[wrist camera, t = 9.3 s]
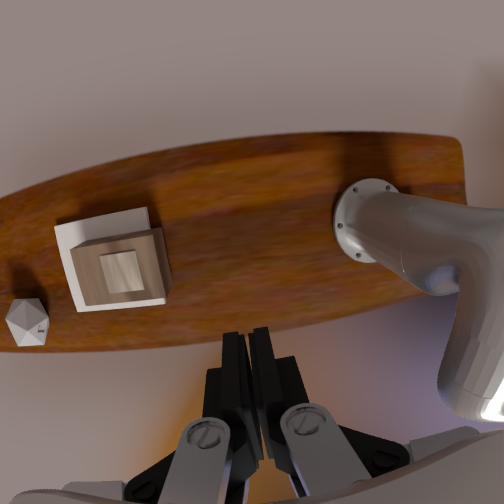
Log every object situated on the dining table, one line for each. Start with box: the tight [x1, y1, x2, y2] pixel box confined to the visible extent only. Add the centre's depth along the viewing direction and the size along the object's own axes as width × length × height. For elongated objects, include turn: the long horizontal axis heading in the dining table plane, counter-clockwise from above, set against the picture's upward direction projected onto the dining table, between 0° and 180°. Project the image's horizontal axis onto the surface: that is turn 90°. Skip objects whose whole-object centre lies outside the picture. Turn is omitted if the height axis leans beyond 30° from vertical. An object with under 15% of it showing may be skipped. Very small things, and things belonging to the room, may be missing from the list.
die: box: [6, 298, 49, 346], centre depth 36 cm, size 8×9×10 cm
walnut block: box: [70, 227, 173, 306], centre depth 35 cm, size 5×8×12 cm
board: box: [54, 207, 166, 312], centre depth 38 cm, size 16×14×1 cm
